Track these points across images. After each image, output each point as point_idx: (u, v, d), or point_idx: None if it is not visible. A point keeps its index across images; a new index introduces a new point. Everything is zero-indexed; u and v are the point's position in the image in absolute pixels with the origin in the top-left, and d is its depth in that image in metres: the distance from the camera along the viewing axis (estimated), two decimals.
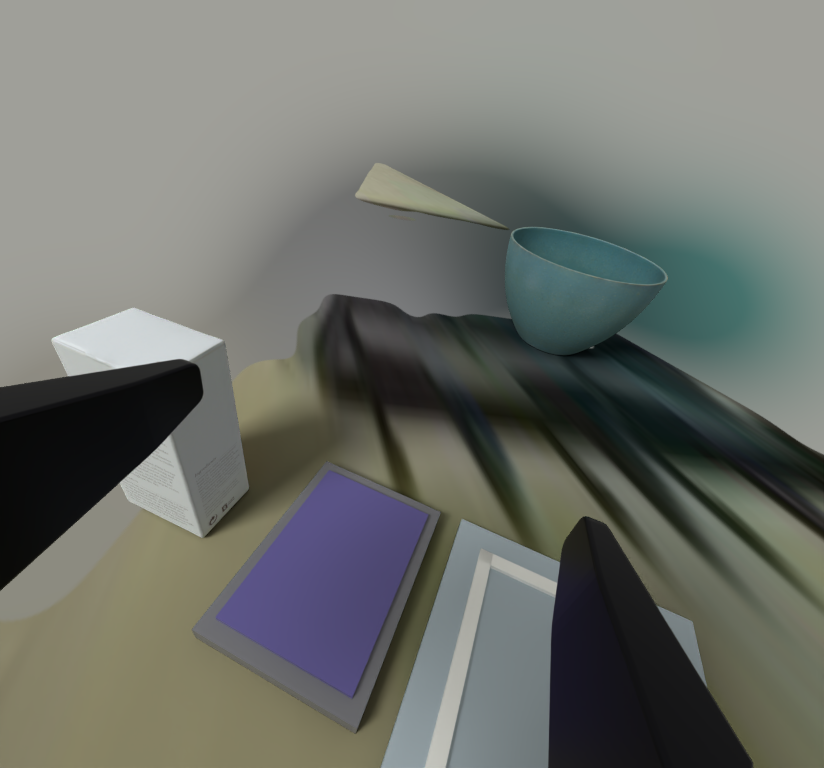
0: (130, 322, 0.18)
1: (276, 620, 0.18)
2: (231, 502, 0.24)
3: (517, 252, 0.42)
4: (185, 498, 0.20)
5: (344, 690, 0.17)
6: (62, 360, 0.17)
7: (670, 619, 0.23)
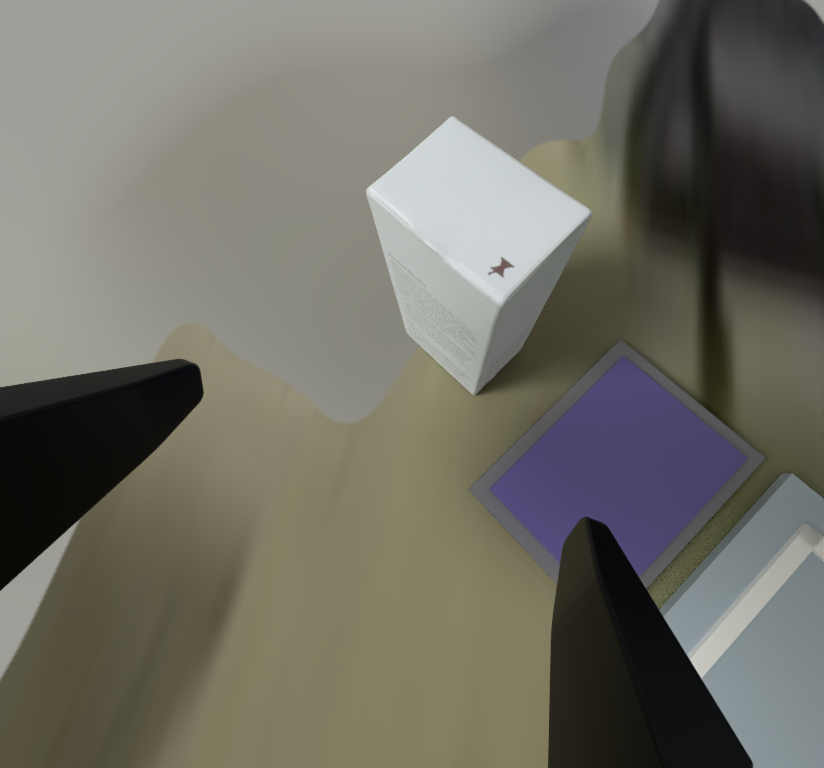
0: (453, 157, 0.12)
1: (543, 514, 0.19)
2: None
3: None
4: (474, 375, 0.18)
5: None
6: (375, 217, 0.13)
7: None
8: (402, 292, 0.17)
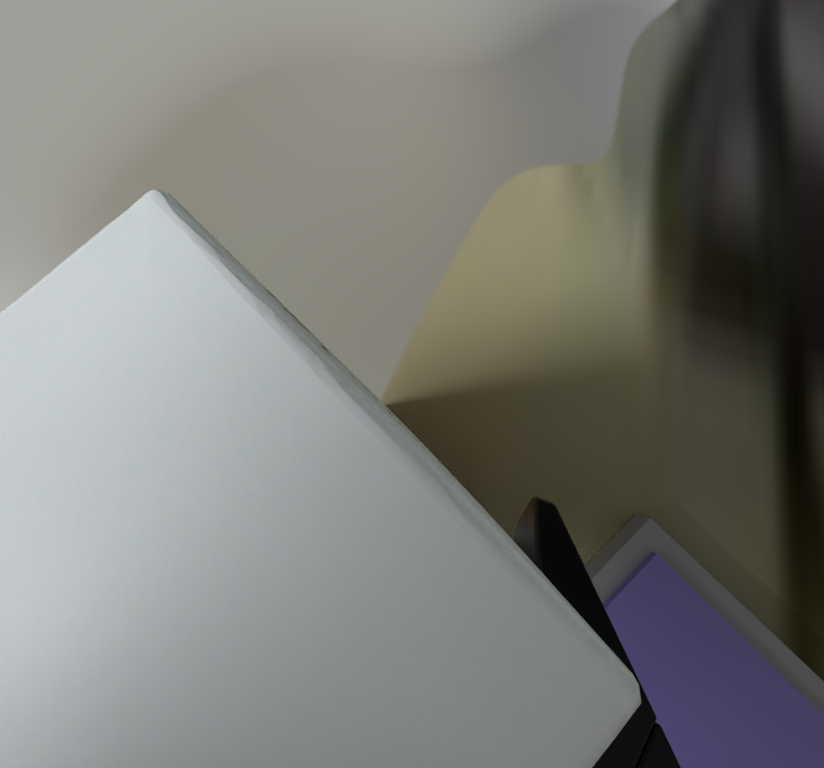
0: (113, 358, 0.03)
1: None
2: None
3: None
4: None
5: None
6: None
7: None
8: None
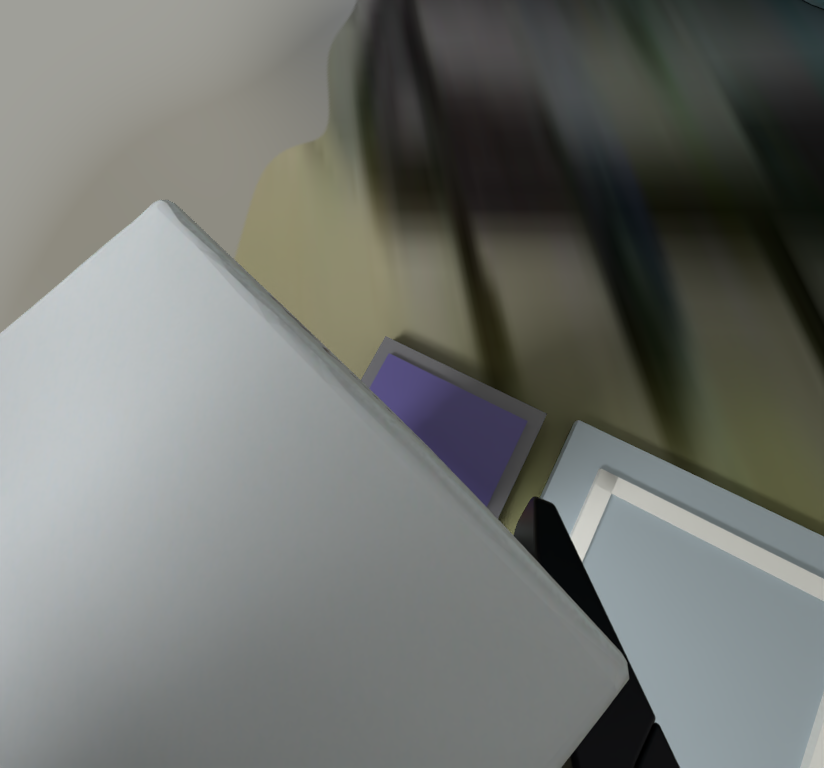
0: (126, 361, 0.03)
1: None
2: None
3: None
4: None
5: None
6: None
7: None
8: None
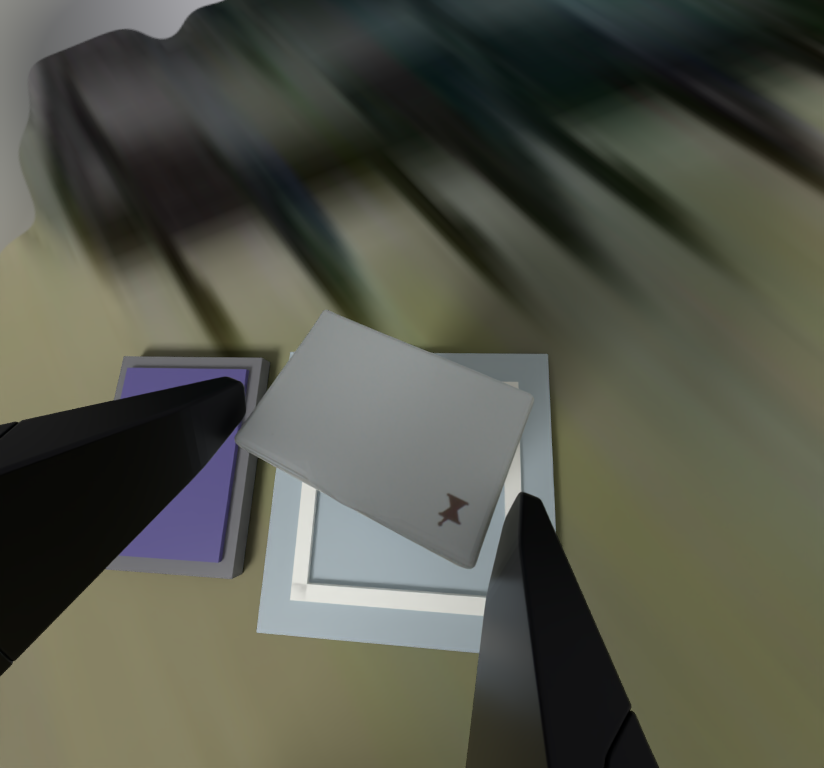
0: (342, 365, 0.09)
1: None
2: None
3: None
4: None
5: (211, 560, 0.19)
6: (258, 457, 0.09)
7: (522, 362, 0.21)
8: None
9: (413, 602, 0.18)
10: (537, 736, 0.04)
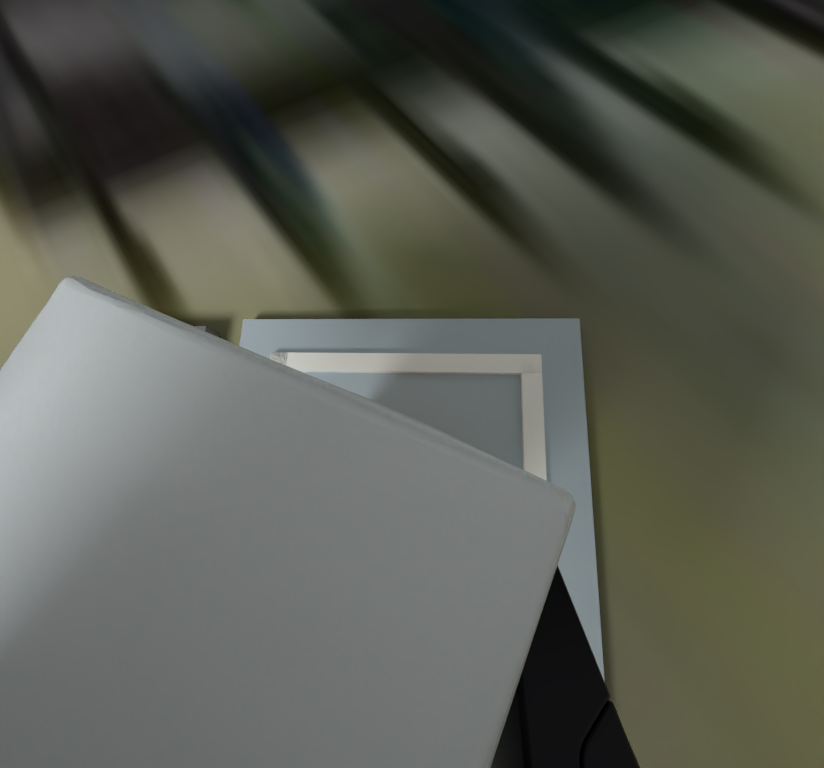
0: (79, 422, 0.04)
1: None
2: None
3: None
4: None
5: None
6: None
7: (546, 330, 0.16)
8: None
9: None
10: (515, 725, 0.04)
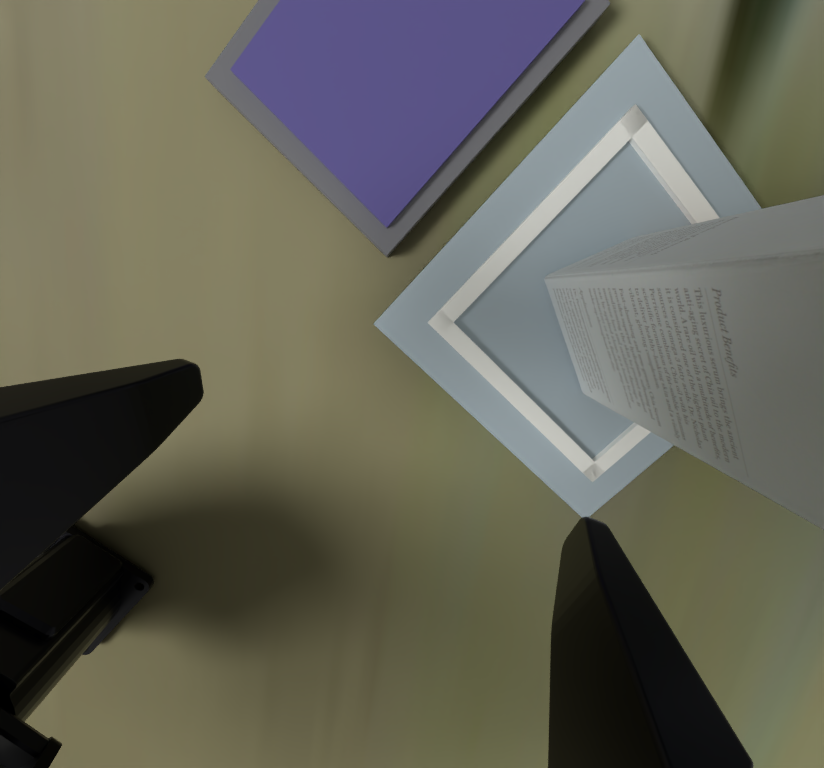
0: None
1: (309, 104, 0.14)
2: None
3: None
4: (629, 415, 0.14)
5: (379, 217, 0.15)
6: (810, 272, 0.06)
7: None
8: (636, 298, 0.10)
9: (527, 409, 0.18)
10: None
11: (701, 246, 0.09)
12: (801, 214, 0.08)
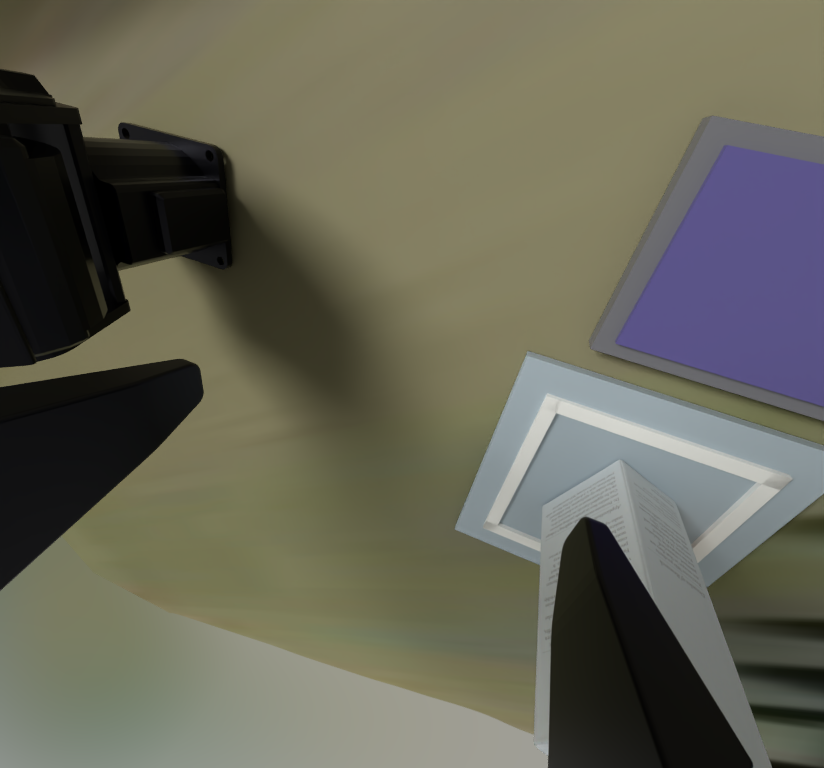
0: None
1: (712, 237, 0.14)
2: None
3: None
4: (543, 556, 0.20)
5: (622, 334, 0.16)
6: None
7: None
8: None
9: (513, 478, 0.23)
10: None
11: (672, 600, 0.14)
12: (707, 651, 0.13)
